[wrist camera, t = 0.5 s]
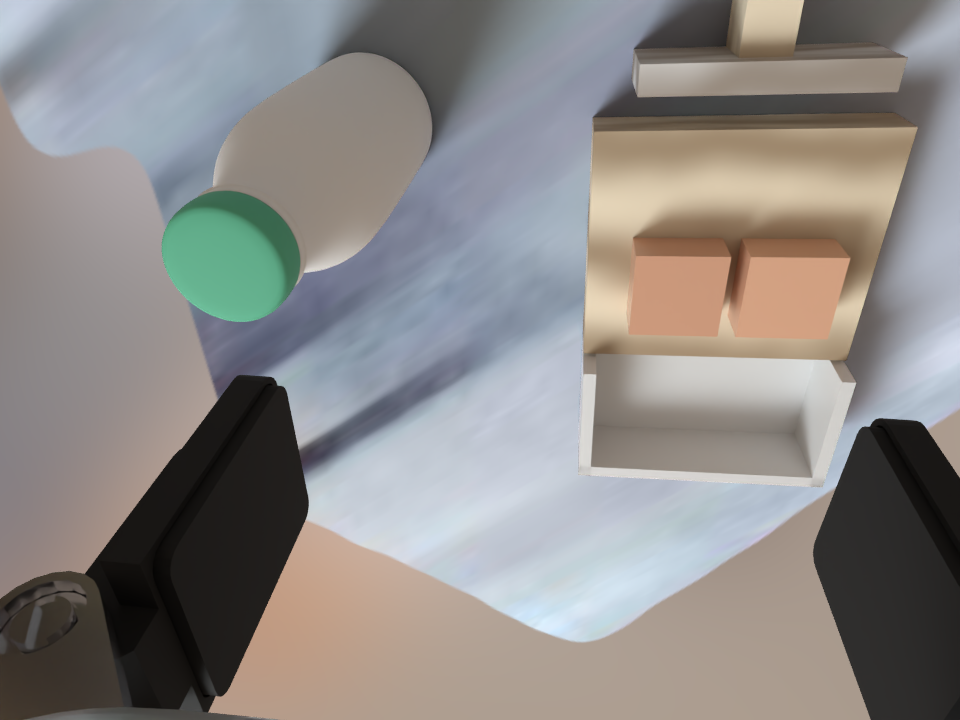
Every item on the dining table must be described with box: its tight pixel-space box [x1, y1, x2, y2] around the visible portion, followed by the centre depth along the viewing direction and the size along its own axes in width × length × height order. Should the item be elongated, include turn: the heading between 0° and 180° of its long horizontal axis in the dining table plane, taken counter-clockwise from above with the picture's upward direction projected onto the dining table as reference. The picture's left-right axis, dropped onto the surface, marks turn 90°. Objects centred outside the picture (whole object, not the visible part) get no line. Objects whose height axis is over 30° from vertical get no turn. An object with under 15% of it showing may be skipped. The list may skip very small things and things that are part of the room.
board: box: [583, 113, 918, 361], centre depth 40 cm, size 14×16×3 cm
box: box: [578, 342, 856, 487], centre depth 45 cm, size 8×16×5 cm, turn 93°
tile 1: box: [727, 238, 850, 339], centre depth 38 cm, size 5×5×2 cm
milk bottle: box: [162, 52, 432, 322], centre depth 31 cm, size 8×8×20 cm
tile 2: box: [626, 238, 731, 337], centre depth 39 cm, size 5×5×2 cm
